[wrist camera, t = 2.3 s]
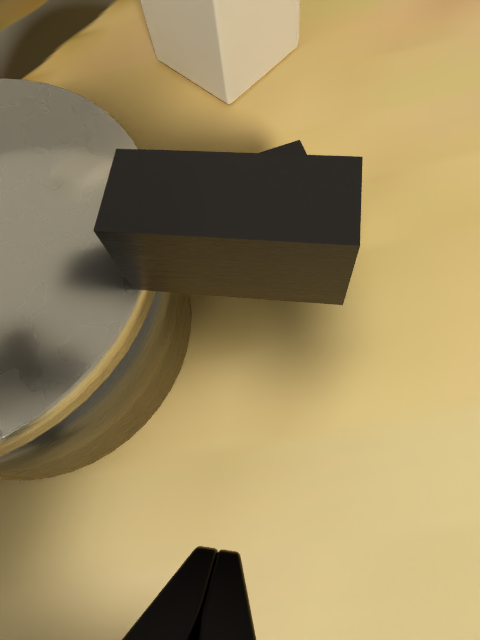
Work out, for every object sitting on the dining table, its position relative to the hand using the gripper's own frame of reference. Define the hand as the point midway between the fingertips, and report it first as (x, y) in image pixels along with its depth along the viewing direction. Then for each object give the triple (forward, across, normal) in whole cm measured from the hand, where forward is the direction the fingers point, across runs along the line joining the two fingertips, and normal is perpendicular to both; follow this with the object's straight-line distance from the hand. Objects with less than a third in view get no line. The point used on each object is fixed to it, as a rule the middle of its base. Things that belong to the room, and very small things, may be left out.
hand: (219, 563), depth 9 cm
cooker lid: (+10, +9, -2) cm, 14 cm away
